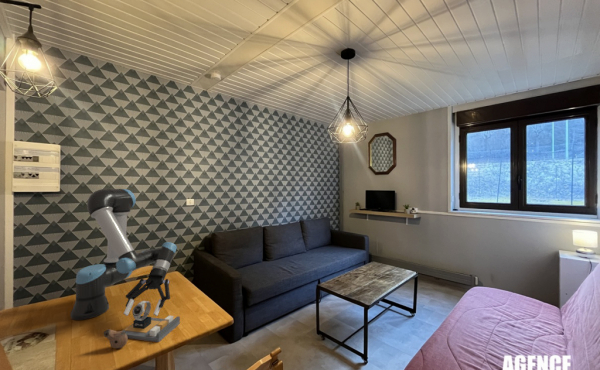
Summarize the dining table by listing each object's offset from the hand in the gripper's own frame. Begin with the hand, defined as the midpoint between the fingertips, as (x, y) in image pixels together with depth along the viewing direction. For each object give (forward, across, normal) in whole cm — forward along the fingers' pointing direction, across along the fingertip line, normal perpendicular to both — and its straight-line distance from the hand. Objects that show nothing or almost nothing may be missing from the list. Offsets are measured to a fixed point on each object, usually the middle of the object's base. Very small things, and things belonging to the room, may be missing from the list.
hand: (140, 314), depth 111 cm
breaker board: (+4, -4, -6) cm, 9 cm away
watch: (+3, 0, -6) cm, 7 cm away
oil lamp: (+13, +3, +2) cm, 14 cm away
